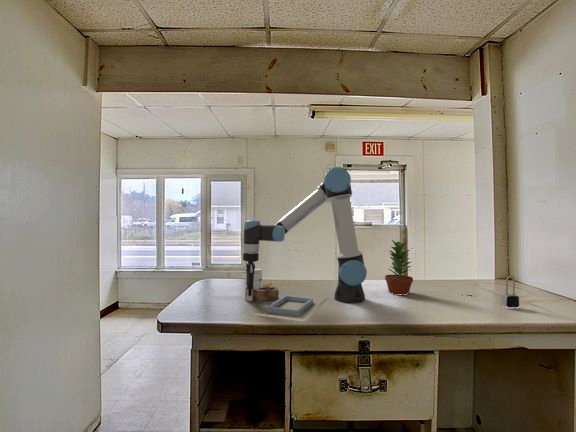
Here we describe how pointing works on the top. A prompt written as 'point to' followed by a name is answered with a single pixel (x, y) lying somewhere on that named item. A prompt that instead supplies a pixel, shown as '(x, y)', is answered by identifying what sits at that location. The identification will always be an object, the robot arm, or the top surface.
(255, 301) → the lid
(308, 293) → the top surface
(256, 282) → the ink box
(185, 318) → the top surface
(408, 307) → the top surface
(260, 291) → the brown wooden forked piece
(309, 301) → the tray
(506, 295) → the padlock
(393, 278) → the potted plant
